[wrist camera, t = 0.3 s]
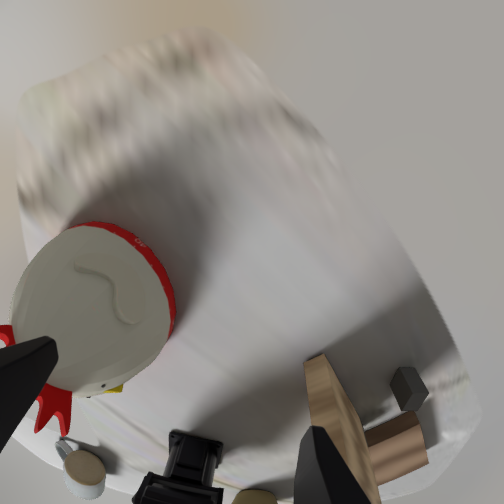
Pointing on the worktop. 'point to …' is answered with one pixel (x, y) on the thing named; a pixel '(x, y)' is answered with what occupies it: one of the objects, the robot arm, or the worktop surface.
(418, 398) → the stop block
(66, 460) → the ceramic mug
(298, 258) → the worktop surface
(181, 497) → the robot arm
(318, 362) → the light wooden board
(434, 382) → the worktop surface
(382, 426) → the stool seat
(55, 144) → the worktop surface
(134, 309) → the kitchen timer
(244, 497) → the squeeze bottle
